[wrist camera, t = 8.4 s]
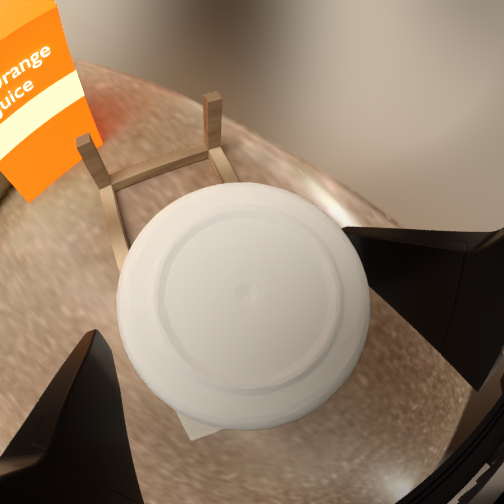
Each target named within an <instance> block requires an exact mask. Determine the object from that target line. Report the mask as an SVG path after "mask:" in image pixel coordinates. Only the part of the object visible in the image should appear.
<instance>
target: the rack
mask: <svg viewBox="0 0 504 504" xmlns="http://www.w3.org/2000/svg"><path fill="white" fill-rule="evenodd" d="M203 113H204V142H202V143H198V144H195V145H192V146H188V147H185V148H182V149H179V150H176V151H173V152H170V153H167V154H164V155H161V156H158V157H155V158H153V159H150V160H147V161H144V162H142V163H139V164H136V165H134V166H131V167H128V168H126V169H123V170H121V171H118V172H116V173H113V174H111V175H109V174H108V172H107V170H106V168H105V166H104V164H103V161H102V159H101V157H100V155H99V153H98V151H97V149H96V146H95V144H94V142H93V140H92V138H91V135H90V133H89V132H88V133H86V134H83V135H81V136H79V137H77V138H76V148H77V150H78V152H79V154H80V156H81V158H82V159H83V161H84V163H85V165H86V167H87V169H88V170H89V172H90V174H91V176H92V177H93V179H94V181H95V183H96V184H97V186H98V188H99V190H100V195H101V200H102V204H103V209H104V214H105V218H106V223H107V227H108V231H109V235H110V239H111V243H112V247H113V251H114V255H115V258H116V262H117V265H118V269H119V272H120V274H121V270H122V267H123V264H124V261H125V258H126V256H127V254H128V252H129V250H130V247H129V244H128V240H127V237H126V233H125V230H124V226H123V222H122V219H121V215H120V211H119V207H118V203H117V199H116V195H115V191H118V190H120V189H123V188H125V187H128V186H130V185H133V184H135V183H138V182H141V181H143V180H146V179H149V178H151V177H154V176H157V175H159V174H162V173H165V172H168V171H171V170H174V169H177V168H179V167H182V166H185V165H188V164H191V163H195V162H198V161H201V160H204V159H207V158H209V160H210V162H211V164H212V166H213V168H214V170H215V172H216V174H217V176H218V178H219V180H220V182H221V184H224V183H238V182H239V181H238V179H237V177H236V175H235V173H234V171H233V169H232V167H231V166H230V164H229V162H228V160H227V158H226V156H225V154H224V153H223V151H222V149H221V147H220V141H221V118H222V97H221V96H220V95H219V93H218V92H217V91H215V92H211V93H207V94H204V95H203Z"/></svg>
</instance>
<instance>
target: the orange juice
mask: <svg viewBox="0 0 504 504" xmlns="http://www.w3.org/2000/svg"><path fill="white" fill-rule="evenodd" d="M88 132H89V133H90V135H91V138H92V140H93V142H94V144H95V146H96V149H97V148H98V147H99V146H101V145H102V144H103V142H102V140H101V137H100V135H99V132H98V130H97V128H96V125H95V123H94V120H93V118H92V115H91V112H90V110H89V107H88V105H87V102H86V99H85V96H84V92H83V89H82V86H81V83H80V80H79V78H78V75H77V72H76V70H75V68H74V65H73V62H72V58H71V55H70V52H69V49H68V45H67V42H66V39H65V35H64V32H63V28H62V24H61V20H60V16H59V13H58V8H57V4H55V2H54V0H0V171H1V172H2V173H3V174H4V175H5V176H6V178H7V179H8V180H9V181H10V182H11V183H12V184H13V186H14V187H15V188H16V189H17V190H18V191H19V192H20V193H21V194H22V196H23V197H24V198H25V199H26V200H27V201H28V202H29V203H30V202H31V201H32V200H33V199H34V198H35V197H37V196H38V195H39V194H40V193H41V192H42V191H43V190H44V189H46V188H47V187H48V186H49V185H50V184H51V183H53V182H54V181H55V180H56V179H57V178H59V177H60V176H61V175H62V174H64V173H65V172H66V171H67V170H69V169H70V168H71V167H72V166H74V165H75V164H76V163H78V162H79V161H80V160H82V158H81V156H80V154H79V152H78V150H77V148H76V138H77V137H79V136H81V135H83V134H86V133H88Z"/></svg>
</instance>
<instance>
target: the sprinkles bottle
mask: <svg viewBox="0 0 504 504" xmlns="http://www.w3.org/2000/svg"><path fill="white" fill-rule="evenodd" d="M116 305H117V320H118V325H119V330H120V335H121V339H122V342H123V345H124V348H125V351H126V353H127V355H128V357H129V359H130V361H131V363H132V365H133V367H134V368H135V370H136V372H137V373H138V374H139V376H140V377H141V378H142V380H143V381H144V382H145V383H146V385H147V386H148V387H149V388H150V390H151V391H152V392H153V393H154V394H155V395H156V396H158V397H159V398H160V399H161V400H162V401H164V402H165V403H166V404H167V405H169V406H170V407H172V408H173V409H175V410H176V411H178V412H179V413H181V414H183V415H185V416H187V417H189V418H191V419H193V420H196V421H198V422H201V423H204V424H207V425H210V426H214V427H218V428H224V429H231V430H261V429H267V428H273V427H276V426H280V425H283V424H286V423H290V422H293V421H295V420H297V419H299V418H302V417H303V416H305V415H307V414H309V413H311V412H312V411H314V410H315V409H317V408H318V407H320V406H321V405H323V404H324V403H325V402H326V401H327V400H328V399H329V398H331V397H332V396H333V395H334V394H335V393H336V392H337V391H338V390H339V389H340V388H341V386H342V385H343V384H344V383H345V382H346V380H347V379H348V377H349V376H350V375H351V373H352V371H353V369H354V368H355V366H356V364H357V362H358V360H359V358H360V356H361V354H362V351H363V348H364V345H365V342H366V338H367V334H368V329H369V322H370V293H369V286H368V282H367V278H366V274H365V271H364V268H363V265H362V263H361V260H360V258H359V256H358V254H357V252H356V250H355V248H354V246H353V245H352V243H351V242H350V240H349V238H348V237H347V236H346V234H345V233H344V232H343V230H342V229H341V228H340V227H339V226H338V225H337V224H336V223H335V222H334V221H333V220H332V219H331V218H330V217H329V216H328V215H327V214H326V213H325V212H324V211H322V210H321V209H320V208H318V207H317V206H316V205H314V204H313V203H311V202H309V201H307V200H306V199H304V198H302V197H300V196H298V195H296V194H294V193H291V192H289V191H286V190H283V189H281V188H277V187H273V186H269V185H264V184H258V183H248V182H238V183H224V184H218V185H214V186H209V187H205V188H202V189H199V190H197V191H194V192H191V193H189V194H187V195H185V196H183V197H181V198H179V199H177V200H176V201H174V202H172V203H171V204H169V205H168V206H167V207H165V208H164V209H163V210H161V211H160V212H159V213H158V214H156V215H155V216H154V217H153V218H152V219H151V221H150V222H149V223H148V224H147V225H146V226H145V227H144V228H143V230H142V231H141V232H140V233H139V235H138V236H137V238H136V240H135V241H134V243H133V244H132V246H131V248H130V250H129V252H128V254H127V256H126V258H125V261H124V264H123V267H122V270H121V274H120V278H119V283H118V289H117V297H116Z"/></svg>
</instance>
